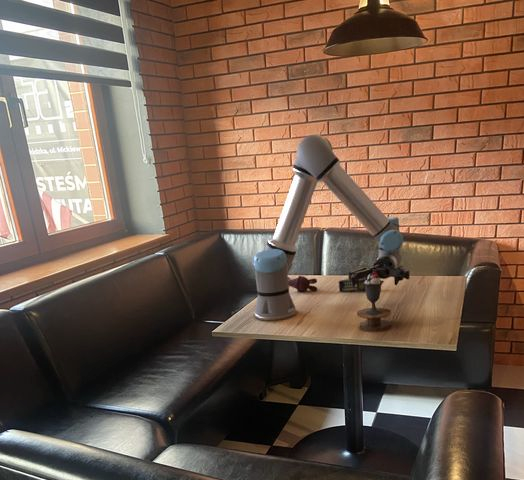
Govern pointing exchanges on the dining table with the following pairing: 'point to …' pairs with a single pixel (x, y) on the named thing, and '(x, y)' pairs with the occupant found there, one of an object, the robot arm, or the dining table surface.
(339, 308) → the dining table surface
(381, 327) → the stand
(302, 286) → the chocolate bunny
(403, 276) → the robot arm
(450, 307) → the dining table surface
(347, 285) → the mobile phone
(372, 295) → the sundae
